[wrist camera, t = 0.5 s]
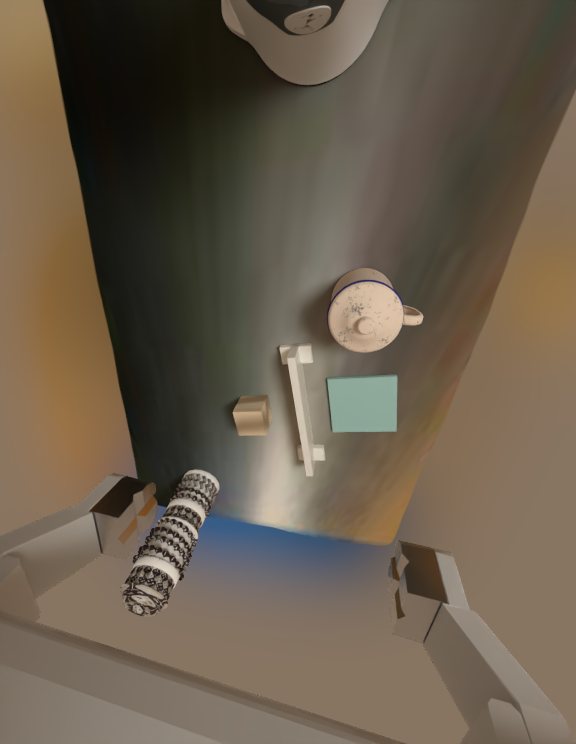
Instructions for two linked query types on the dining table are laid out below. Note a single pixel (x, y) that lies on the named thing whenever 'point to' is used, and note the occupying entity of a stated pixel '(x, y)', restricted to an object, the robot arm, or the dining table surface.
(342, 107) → the dining table surface
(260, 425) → the maple block
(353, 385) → the pad
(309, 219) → the dining table surface
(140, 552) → the decorative candle
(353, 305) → the teacup with lid
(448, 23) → the dining table surface
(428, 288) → the dining table surface
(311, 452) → the divider wall
